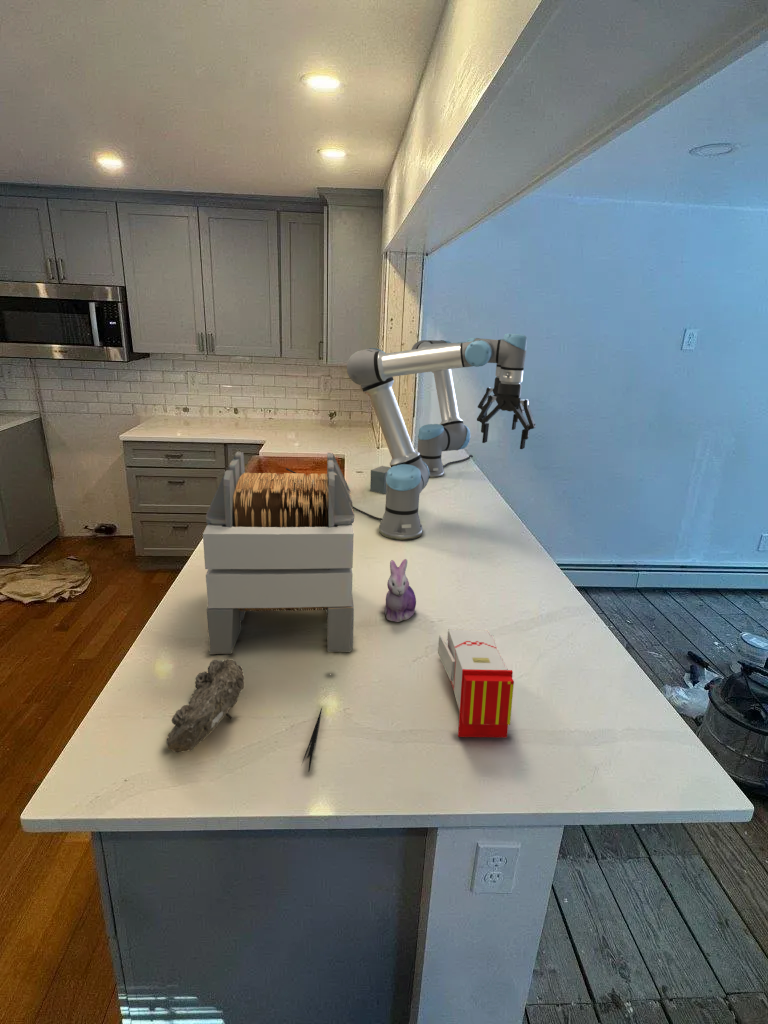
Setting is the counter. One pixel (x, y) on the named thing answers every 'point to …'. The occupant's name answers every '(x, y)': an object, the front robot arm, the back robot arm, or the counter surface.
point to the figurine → (399, 594)
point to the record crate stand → (279, 550)
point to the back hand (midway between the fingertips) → (498, 427)
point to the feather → (313, 740)
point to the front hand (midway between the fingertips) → (503, 445)
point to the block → (379, 479)
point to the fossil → (206, 705)
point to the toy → (478, 682)
